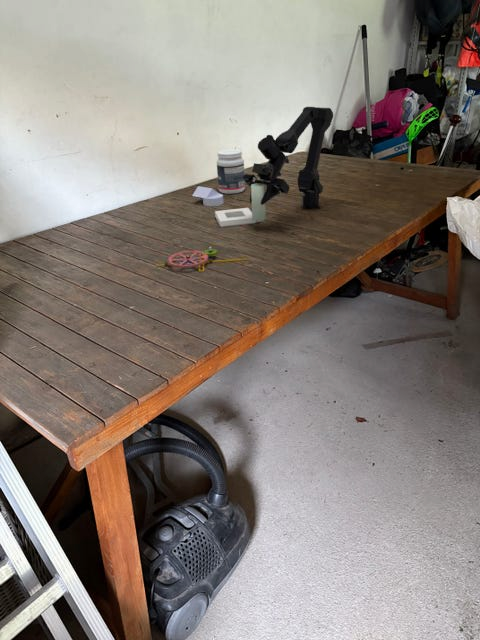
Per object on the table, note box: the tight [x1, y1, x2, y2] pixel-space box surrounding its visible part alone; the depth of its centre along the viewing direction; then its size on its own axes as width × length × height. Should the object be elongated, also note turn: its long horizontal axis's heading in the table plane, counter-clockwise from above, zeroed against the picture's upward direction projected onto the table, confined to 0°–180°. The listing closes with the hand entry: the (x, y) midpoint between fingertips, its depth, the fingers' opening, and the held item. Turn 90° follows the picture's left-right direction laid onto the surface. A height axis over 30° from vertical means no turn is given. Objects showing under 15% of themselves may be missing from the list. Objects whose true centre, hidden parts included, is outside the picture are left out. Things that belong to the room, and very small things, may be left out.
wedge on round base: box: [192, 185, 224, 207], centre depth 225 cm, size 9×7×13 cm
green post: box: [250, 183, 266, 223], centre depth 187 cm, size 5×5×13 cm
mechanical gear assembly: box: [155, 246, 248, 273], centre depth 164 cm, size 30×4×15 cm
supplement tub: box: [216, 149, 246, 195], centre depth 238 cm, size 13×13×18 cm
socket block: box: [214, 207, 257, 228], centre depth 202 cm, size 14×14×2 cm
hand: (256, 203), depth 187 cm, fingers closed on green post, 5 cm apart
